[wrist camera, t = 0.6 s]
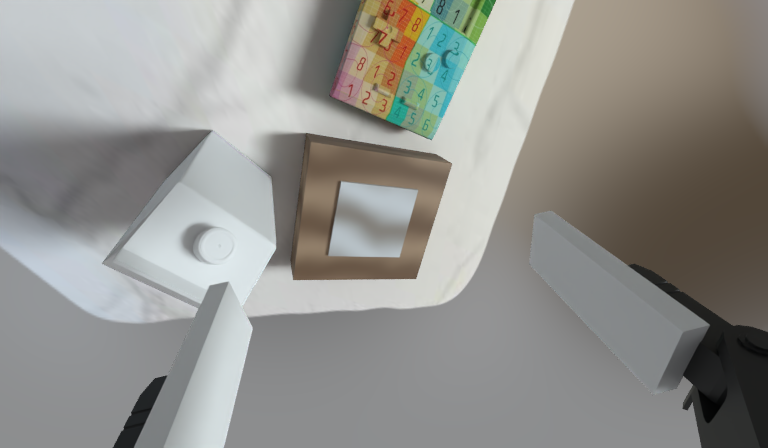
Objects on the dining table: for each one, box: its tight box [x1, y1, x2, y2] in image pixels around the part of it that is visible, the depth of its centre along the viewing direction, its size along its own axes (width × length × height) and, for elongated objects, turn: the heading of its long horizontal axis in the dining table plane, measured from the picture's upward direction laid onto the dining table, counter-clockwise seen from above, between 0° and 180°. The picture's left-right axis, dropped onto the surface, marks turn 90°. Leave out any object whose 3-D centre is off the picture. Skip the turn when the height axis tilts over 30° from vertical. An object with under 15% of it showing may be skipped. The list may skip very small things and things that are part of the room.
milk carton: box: [102, 130, 276, 308], centre depth 25 cm, size 7×7×19 cm
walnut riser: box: [291, 133, 452, 280], centre depth 38 cm, size 16×16×4 cm
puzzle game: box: [329, 0, 496, 140], centre depth 31 cm, size 12×5×20 cm
